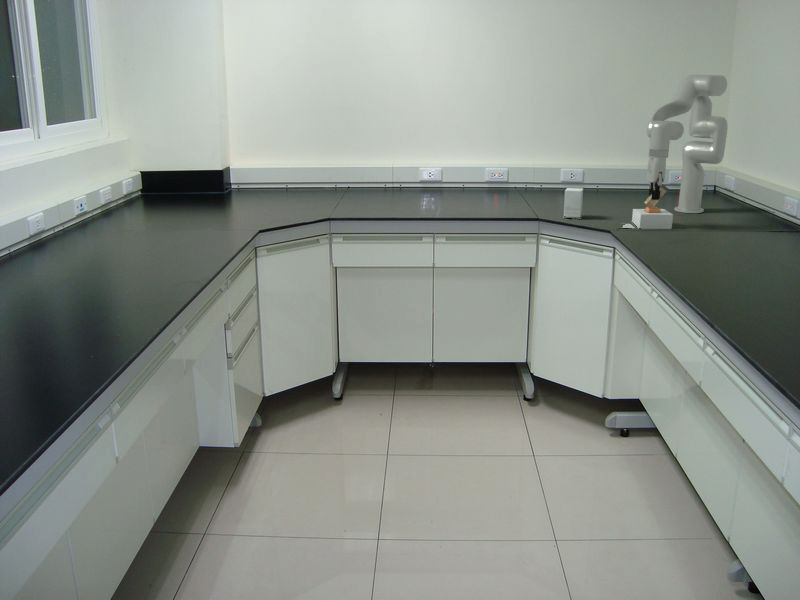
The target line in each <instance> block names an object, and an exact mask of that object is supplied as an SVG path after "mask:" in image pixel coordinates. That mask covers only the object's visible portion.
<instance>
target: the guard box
mask: <svg viewBox="0 0 800 600" xmlns="http://www.w3.org/2000/svg"><path fill="white" fill-rule="evenodd" d="M645 211H646V208H632V216H631V217H632V218H631V223H632V222H633V223H634V224H635V225H636V226H637V227H636V226H635V225H634V224H633V223H632V224H633V225H634V226H635V227H636V228H638V229H639V228H641V229H640V230H672V228H673V221H674V220H673V218H674V214H673V213H672V212H671V211H670V212H669V211H668V210H666V209H665V208H660V213H647V212H645Z"/></svg>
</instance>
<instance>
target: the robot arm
mask: <svg viewBox="0 0 800 600" xmlns="http://www.w3.org/2000/svg"><path fill="white" fill-rule="evenodd" d="M727 86H728V80H727V78H726V76H724V75H721V74H719V75H718V74H717V75H716V74H714V75H712V74H688V75H686V76H684V77H683V78H682V80H681V82H680V83H679V85H678V87H677V89H676V91H675V93H674V95H673V97H672V99H671V100H670V101H668V102H666V103H664V104H663V105H662V106H660V107H659V108H658V109H656V110H655V111H654V113H653V114H652V115H651V118H650V120H649V122H648V124H647V126H646V135H647V137H648V138H650V139H649V150H648V158H649V159H648V163H647V168H646V169H647V170H646V178H645V179H646V181H648V182H649V188H648V189H649V190H648V197H649V196H650V195H651V194H652V196H651V199H652V200H659V199H660V190H661V185H662V184H663V183H664V182H665V180H666V179H665V178H666V168H667V159H668V158H669V153H670V145H671V144H670V143H671V142H670V141H677V140H679V139H681V138H682V137H683V135H684V133H685V127H684V125H683V124H682V123H681V122H680V121H676V120H674V121H673V120H669V119H671V118H674V117H678V116H681V115H683V114H687V113H688V112H689V111H690V116H689V123H688V134H689V136H690V137H693V138H698V139H710V140H711V139H712V141H705V140H690V141H686V143H685V144H684V143H683V144H684V145H683V146H682V151H681V152H682V153H681V154H682V155H681V156H682V170H681V178H680V179H681V180H680V188H679V197H678V204H677V205H678V206H675V207H674V208H673V210H674V211H675V212H678V213H685V214H701V213H703V212H705V211H704V208H702V207H701V205H702V197H703V189H704V188H703V187H704V182H705V169H704V167H703V166H702V165H701V164H707V165H718V164H720V163H722V161H723V159H724V157H725V151H726V143H727V137H728V136H727V135H728V127H729V126H728V120H727V119H726V118H725V117H723V116H715V115H713V116H712V110H713V102H712V100H711V98H710V97H720V96H723V94H725V92H726V90H727V88H728V87H727ZM660 200H661V199H660ZM660 200H659V201H660Z"/></svg>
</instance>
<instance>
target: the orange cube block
mask: <svg viewBox="0 0 800 600" xmlns="http://www.w3.org/2000/svg"><path fill="white" fill-rule="evenodd" d="M645 209H646V211H645V212H647V213H660V209H661V208H660V207H657V206H654V207H653V209H652V208H651V207H649V206H645Z"/></svg>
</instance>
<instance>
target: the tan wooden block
mask: <svg viewBox="0 0 800 600" xmlns="http://www.w3.org/2000/svg"><path fill="white" fill-rule="evenodd" d="M668 190H669V188H668V187H666V185H664V184H663V183H662V185H661V190H660V199H659V200H652V199H651V196H652V194H651V195H650V196H649V195H648V197H647V198H646V200H645V201H644V204H645V205H646V206H647V207H651V208H652V209H653V207H656V205H657V204H658V202H659V201H660V200H661V199H662V197H663V196H664V194H666V193H667V192H668Z"/></svg>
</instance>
